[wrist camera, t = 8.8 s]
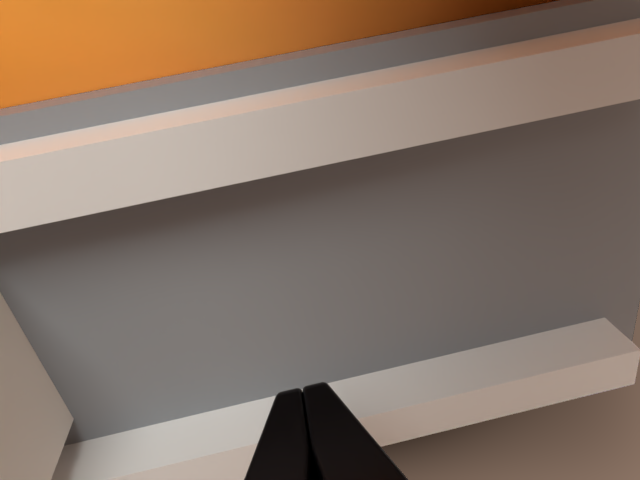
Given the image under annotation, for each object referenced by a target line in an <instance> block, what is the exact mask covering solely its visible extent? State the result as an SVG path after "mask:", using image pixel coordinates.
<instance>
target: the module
mask: <svg viewBox="0 0 640 480" xmlns="http://www.w3.org/2000/svg"><path fill="white" fill-rule="evenodd" d="M73 420H74V418H73V417H72V415H71V413H70V412H69V410H68V408H67V406H66V405H65V403H64V401H63V400H62V398H61V396H60V394H59V393H58V391H57V389H56V387H55V386H54V384H53V382H52V381H51V379H50V377H49V375H48V374H47V372H46V370H45V369H44V367H43V365H42V363H41V362H40V360H39V358H38V356H37V355H36V353H35V351H34V350H33V348H32V346H31V344H30V343H29V341H28V339H27V337H26V336H25V334H24V332H23V331H22V329H21V327H20V325H19V324H18V322H17V320H16V319H15V317H14V315H13V313H12V312H11V310H10V308H9V306H8V305H7V303H6V301H5V300H4V298H3V296H2V294H1V293H0V480H51V479H52V476H53V473H54V471H55V468H56V465H57V463H58V460H59V457H60V455H61V452H62V449H63V446H64V444H65V441H66V438H67V436H68V433H69V430H70V428H71V425H72V422H73Z"/></svg>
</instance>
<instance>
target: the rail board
mask: <svg viewBox="0 0 640 480" xmlns="http://www.w3.org/2000/svg"><path fill="white" fill-rule="evenodd" d="M0 293H1V294H2V296H3V298H4V300H5V301H6V303H7V305H8V306H9V308H10V310H11V312H12V313H13V315H14V317H15V319H16V320H17V322H18V324H19V325H20V327H21V329H22V331H23V332H24V334H25V336H26V337H27V339H28V341H29V343H30V344H31V346H32V348H33V350H34V351H35V353H36V355H37V356H38V358H39V360H40V362H41V363H42V365H43V367H44V369H45V370H46V372H47V374H48V375H49V377H50V379H51V381H52V382H53V384H54V386H55V387H56V389H57V391H58V393H59V394H60V396H61V398H62V400H63V401H64V403H65V405H66V406H67V408H68V410H69V412H70V413H71V415H72V417H73V418H74V420H73V422H72V425H71V428H70V430H69V433H68V436H67V438H66V441H65V444H64V446H63V449H62V452H61V455H60V457H59V460H58V463H57V465H56V468H55V471H54V473H53V476H52V479H51V480H244V478H245V476H246V473H247V471H248V468H249V465H250V463H251V460H252V457H253V455H254V452H255V449H256V447H257V444H258V441H259V439H260V436H261V434H262V431H263V428H264V426H265V423H266V420H267V418H268V415H269V412H270V410H271V407H272V404H273V402H274V399H275V397H276V395H277V394H278V393H279V392H282V391H286V390H290V389H295V388H300V389H301V390H303V388H304V386H307V385H311V384H316V383H320V382H326V383H327V384H328V385H329V386H330V387H331V388H332V389H333V390H334V392H335V393H336V394H337V395H338V396H339V398H340V399H341V400H342V401H343V402H344V404H345V405H346V406H347V407H348V408H349V410H350V411H351V412H352V413H353V414H354V416H355V417H356V418H357V419H358V420H359V422H360V423H361V424H362V425H363V426H364V428H365V429H366V430H367V431H368V432H369V434H370V435H371V436H372V437H373V438H374V439H375V441H376V442H377V443H378V444H379V445H380V447H382V446H386V445H390V444H394V443H398V442H402V441H406V440H410V439H414V438H418V437H422V436H426V435H430V434H434V433H438V432H442V431H447V430H451V429H454V428H459V427H463V426H467V425H471V424H475V423H479V422H483V421H487V420H491V419H495V418H499V417H503V416H507V415H511V414H515V413H519V412H523V411H527V410H531V409H535V408H540V407H544V406H548V405H552V404H556V403H560V402H564V401H568V400H572V399H576V398H580V397H584V396H588V395H592V394H596V393H600V392H604V391H608V390H612V389H616V388H620V387H624V386H628V385H633V384H634V383H635V378H636V374H637V368H638V364H639V359H640V348H638V347H637V346H636V345H635V344H634V343H633V342H632V339H633V334H634V328H635V323H636V317H637V312H638V307H639V302H640V0H558V1H553V2H548V3H543V4H538V5H533V6H528V7H522V8H517V9H512V10H507V11H502V12H497V13H492V14H486V15H481V16H476V17H471V18H466V19H461V20H456V21H450V22H445V23H440V24H435V25H430V26H425V27H420V28H414V29H409V30H404V31H399V32H394V33H389V34H384V35H378V36H373V37H368V38H363V39H358V40H353V41H348V42H342V43H337V44H332V45H327V46H322V47H317V48H312V49H306V50H301V51H296V52H291V53H286V54H281V55H276V56H270V57H265V58H260V59H255V60H250V61H245V62H240V63H234V64H229V65H224V66H219V67H214V68H209V69H204V70H198V71H193V72H188V73H183V74H178V75H173V76H168V77H162V78H157V79H152V80H147V81H142V82H137V83H132V84H126V85H121V86H116V87H111V88H106V89H101V90H96V91H90V92H85V93H80V94H75V95H70V96H65V97H60V98H54V99H49V100H44V101H39V102H34V103H29V104H24V105H18V106H13V107H8V108H3V109H0ZM302 392H303V391H302Z"/></svg>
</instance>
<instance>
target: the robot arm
mask: <svg viewBox="0 0 640 480" xmlns="http://www.w3.org/2000/svg"><path fill="white" fill-rule="evenodd" d="M302 391H303V392H302ZM244 480H408V479H407V478H406V477H405V475H404V474H403V473H402V472H401V471H400V469H399V468H398V467H397V466H396V465H395V464H394V462H393V461H392V460H391V459H390V457H389V456H388V455H387V454H386V453H385V451H384V450H383V449H382V448H381V447H380V445H379V444H378V443H377V442H376V441H375V439H374V438H373V437H372V436H371V435H370V434H369V432H368V431H367V430H366V429H365V428H364V426H363V425H362V424H361V423H360V422H359V420H358V419H357V418H356V417H355V416H354V414H353V413H352V412H351V411H350V410H349V408H348V407H347V406H346V405H345V404H344V402H343V401H342V400H341V399H340V398H339V396H338V395H337V394H336V393H335V392H334V390H333V389H332V388H331V387H330V386H329V385H328V384H327V383H326V382H320V383H316V384H311V385H307V386H304V388H303V390H301V389H300V388H295V389H290V390H286V391H282V392H279V393H278V394H277V395H276V397H275V399H274V402H273V404H272V407H271V410H270V412H269V415H268V418H267V420H266V423H265V426H264V428H263V431H262V434H261V436H260V439H259V441H258V444H257V447H256V449H255V452H254V455H253V457H252V460H251V463H250V465H249V468H248V471H247V473H246V476H245V478H244Z"/></svg>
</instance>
